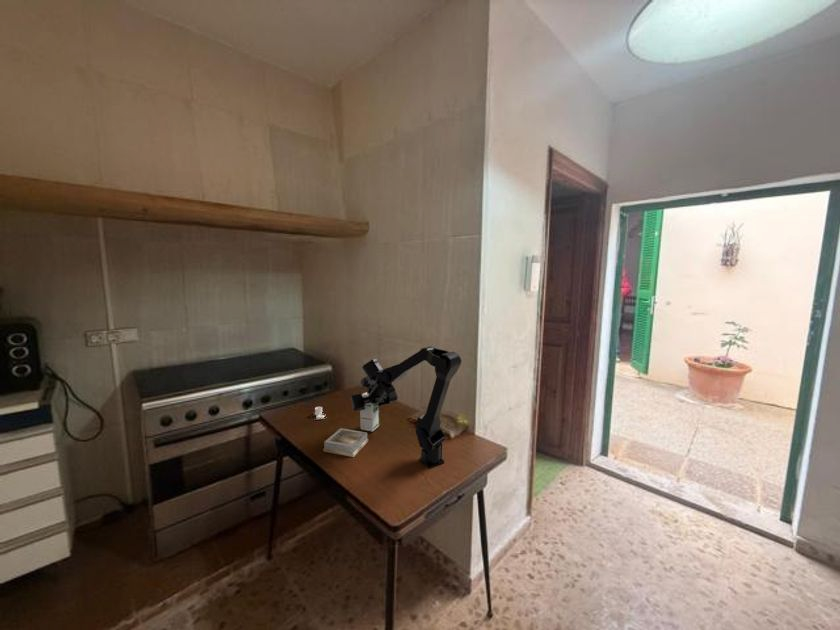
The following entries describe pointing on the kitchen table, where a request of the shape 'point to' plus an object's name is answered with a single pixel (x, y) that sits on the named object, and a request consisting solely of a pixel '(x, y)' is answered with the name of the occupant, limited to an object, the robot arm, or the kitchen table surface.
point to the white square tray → (346, 442)
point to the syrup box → (369, 416)
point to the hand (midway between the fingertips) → (368, 407)
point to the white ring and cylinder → (319, 413)
